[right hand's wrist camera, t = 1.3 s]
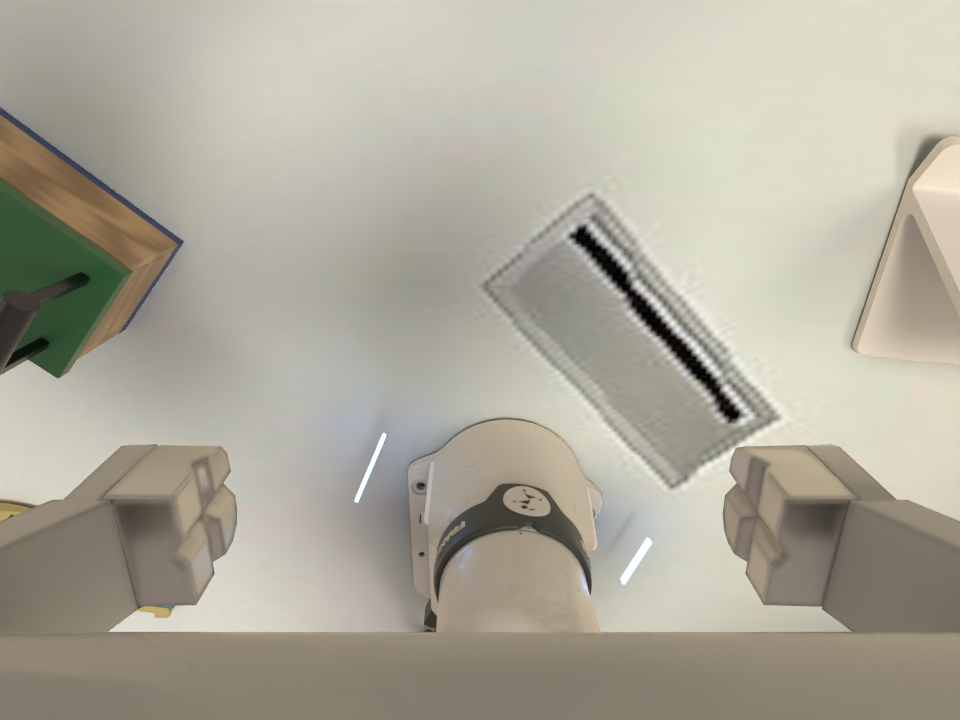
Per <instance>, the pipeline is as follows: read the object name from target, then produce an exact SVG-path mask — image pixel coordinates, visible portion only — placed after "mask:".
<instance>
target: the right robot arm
mask: <svg viewBox="0 0 960 720" xmlns="http://www.w3.org/2000/svg"><path fill="white" fill-rule="evenodd" d="M385 437H386V434H384V433H383V434H382V436H381V439H380V441H379V444H378V446H377V448H376V451H375V453H374V455H373V458H372V460H371V462H370V465H369V467H368V469H367V472H366V474H365V477H364V479H363V481H362V484H361V486H360V488H359V491H358V493H357V495H356V498H355V502H357V503H358V501H359V499H360V496H361V494H362V492H363V489H364V487H365V485H366V482H367V480H368V477H369V475H370V473H371V470H372V468H373V466H374V463H375V461H376V459H377V456H378V454H379V452H380V449H381V447H382V445H383V442H384V440H385ZM230 472H231V470H230V465H229V460H228V455H227V452H226V451H225V450H224V449H223V448H222V447H221V446H172V445H160V446H158V445H128V446H121V447H120V448H119V449H118V450H117V451H116V452H115V453H113V454H112V455H111V456H110V457H109V458H108V459H107V460H106V461H105V462H104V463H103V464H102V465H100V466H99V467H98V468H97V469H96V470H95V471H94V472H93V473H92V474H91V475H90V476H89V477H87V478H86V479H85V480H84V481H83V482H82V483H81V484H80V485H79V486H78V487H77V488H75V489H74V490H73V491H72V492H71V493H70V494H69V495H68V496H67V497H66V498H65V499H64V500H51V501H49V502H46V503H44V504H41V505H39V506H37V507H34V508H32V509H29V510H27V511H24V512H22V513H19V514H17V515H14V516H12V517H10V518H7V519H5V520H2V521H0V720H960V521H958V520H955V519H953V518H950V517H948V516H945V515H943V514H941V513H938V512H936V511H933V510H931V509H928V508H926V507H923V506H921V505H919V504H916V503H914V502H911V501H909V500H897V499H895V498H894V497H893V496H892V495H891V494H890V493H889V492H888V491H887V490H886V489H885V488H884V487H882V486H881V485H880V484H879V483H878V482H877V481H876V480H875V479H874V478H873V477H872V476H871V475H869V474H868V473H867V472H866V471H865V470H864V469H863V468H862V467H861V466H860V465H859V464H858V463H856V462H855V461H854V460H853V459H852V458H851V457H850V456H849V455H848V454H847V453H846V452H845V451H843V450H842V449H841V448H840V447H838V446H835V445H831V444H830V445H807V446H805V445H793V446H751V447H739V448H736V449H735V451H734V453H733V456H732V459H731V464H730V470H729V472H730V473H731V475H732V476H733V478H734V479H735V481H736V483H737V484H736V485H735V486H734V487H733V488H732V489H731V490H730V491H729V492H728V493H727V494H726V495H725V500H724V508H723V522H724V531H725V534H726V537H727V541H728V543H729V545H730V547H731V549H732V551H733V553H734V554H735V555H737V556H739V557H740V558H742V559H743V560H745V561H747V562H748V563H747V568H746V575H747V577H748V579H749V580H750V582H751V584H752V585H753V587H754V589H755V591H756V592H757V594H758V596H759V597H760V599H761V601H762V603H763V604H764V605H785V606H822V607H823V608H822V609H823V610H824V611H826V612H827V613H828V614H830V615H831V616H832V617H834V618H835V619H836V620H838V621H839V622H840V623H842V624H843V625H844V626H846V627H847V628H848V629H850V630H851V631H852V632H600V629H599V626H598V622H597V619H596V616H595V612H594V609H593V605H592V602H591V598H590V594H591V566H590V556H591V553H592V551H594V550H596V548H597V536H596V529H595V523H594V521H595V519H596V517H597V516H598V514H599V512H600V510H601V509H602V506H603V498H602V494H601V492H600V491H599V490H598V489H597V487H596V486H595V485H593V484H592V483H591V482H590V481H589V480H588V479H586V478H585V476H584V475H583V473H582V471H581V469H580V467H579V464H578V462H577V459H576V457H575V455H574V454H573V452H572V451H571V449H570V448H569V447H568V445H567V444H566V443H565V442H564V441H563V440H562V439H561V438H559V437H558V436H557V435H556V434H554V433H553V432H551V431H550V430H548V429H546V428H544V427H542V426H539V425H537V424H534V423H530V422H527V421H522V420H512V419H502V420H493V421H487V422H483V423H480V424H477V425H475V426H472V427H470V428H468V429H466V430H464V431H462V432H461V433H459V434H458V435H456V436H455V437H454V438H453V439H451V440H450V441H449V442H448V443H447V444H446V445H445V446H444V447H443V448H441V449H440V450H439V451H437V452H436V453H433V454H430V455H427V456H425V457H422V458H420V459H417V460H416V461H414V462H412V463H411V464H410V466H409V468H408V490H409V508H410V525H411V543H412V560H413V577H414V587H415V590H416V591H417V592H418V593H419V594H421V595H422V596H423V597H425V598H427V599H428V600H429V601H428V603H427V605H426V610H425V619H424V625H426V626H429V627H432V628H435V631H434V632H432V631H430V630H428V631H426V632H108V631H109V630H111V629H112V628H113V627H115V626H116V625H117V624H119V623H120V622H121V621H123V620H124V619H125V618H127V617H128V616H129V615H131V614H132V613H133V612H135V611H136V610H137V606H173V605H196V604H197V603H198V601H199V599H200V598H201V596H202V594H203V592H204V591H205V589H206V587H207V585H208V584H209V582H210V580H211V579H212V577H213V575H214V568H213V563H212V562H213V561H215V560H217V559H218V558H220V557H221V556H223V555H225V554H226V552H227V551H228V549H229V547H230V545H231V543H232V541H233V537H234V533H235V529H236V525H237V506H236V499H235V495H234V494H233V493H232V492H231V491H230V490H229V489H228V488H227V487H226V486H225V485H224V484H223V483H224V481H225V479H226V478H227V476H228V475H229V473H230ZM419 482H422V483H424V484H425V485H423V486H420V485H418V484H417V483H419ZM651 544H652V543H651V540H650V539H649V538H646V540H645V541H644V543H643V545H642V546H641V548H640V549H639V551H638V552H637V554H636V555H635V557H634V558H633V560H632V562H631V563H630V565H629V566H628V568H627V569H626V571H625V572H624V574H623V575H622V577H621V582H622V584H625V583H626V582H627V580H628V579H629V577H630V576H631V574H632V573H633V571H634V570H635V568H636V566H637V565H638V563H639V562H640V560H641V559H642V557H643V556H644V554H645V553H646V551H647V550H648V548H649V547H650V545H651Z"/></svg>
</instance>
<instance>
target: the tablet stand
mask: <svg viewBox="0 0 960 720" xmlns="http://www.w3.org/2000/svg"><path fill="white" fill-rule="evenodd" d="M852 347H853V350H854V351H856V352H857V353H859V354H860V355H862V356H870V357H881V358H892V359H902V360H913V361H924V362H935V363H946V364H957V365H960V137H959V136H950V137H947V138H944V139H942V140H941V141H940V142H938V143H937V145H936V146H935V147H934V148H933V150H932V151H931V152H930V153H929V155H928V156H927V157H926V158H925V160H924V161H923V162H922V163H921V165H920V166H919V167H918V168H917V170H916V171H915V172H914V173H913V175H912V176H911V177H910V178H909V180H908V182H907V185H906V188H905V190H904V193H903V196H902V199H901V202H900V205H899V208H898V211H897V214H896V217H895V220H894V223H893V226H892V229H891V232H890V235H889V238H888V240H887V243H886V246H885V249H884V252H883V255H882V258H881V261H880V264H879V267H878V270H877V273H876V276H875V279H874V282H873V285H872V287H871V290H870V293H869V296H868V299H867V302H866V305H865V308H864V311H863V314H862V317H861V320H860V323H859V326H858V329H857V332H856V335H855V337H854V340H853V344H852Z"/></svg>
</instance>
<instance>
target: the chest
mask: <svg viewBox="0 0 960 720" xmlns="http://www.w3.org/2000/svg"><path fill="white" fill-rule="evenodd" d="M0 178H1V179H3V180H4V181H5V182H7V183H8V184H10V185H11V186H13V187H14V188H15V189H17V190H18V191H20V192H21V193H22V194H24V195H25V196H27V197H28V198H30V199H31V200H32V201H34V202H35V203H37V204H38V205H40V206H41V207H42V208H44V209H45V210H47V211H48V212H50V213H51V214H52V215H54V216H55V217H57V218H58V219H60V220H61V221H62V222H64V223H65V224H67V225H68V226H70V227H71V228H72V229H74V230H75V231H77V232H78V233H80V234H81V235H82V236H84V237H85V238H87V239H88V240H89V241H91V242H92V243H94V244H95V245H97V246H98V247H99V248H101V249H102V250H104V251H105V252H107V253H108V254H109V255H111V256H112V257H114V258H115V259H117V260H118V261H119V262H121V263H122V264H124V265H125V266H127V267H128V268H129V269H131V270H132V271H133V273H132V275H131V276H130V278H129V279H128V281H127V283H126V284H125V286H124V287H123V289H122V290H121V292H120V293H119V295H118V296H117V298H116V299H115V301H114V303H113V304H112V306H111V307H110V309H109V310H108V312H107V313H106V315H105V316H104V318H103V320H102V321H101V323H100V324H99V326H98V327H97V329H96V330H95V332H94V333H93V335H92V337H91V338H90V340H89V341H88V343H87V344H86V346H85V347H84V349H83V350H82V352H81V354H80V355H79V357H78V358H80V357H81V356H83V355H85V354H86V353H88V352H89V351H91V350H93V349H94V348H96V347H97V346H99V345H100V344H102V343H104V342H105V341H107V340H108V339H110V338H112V337H113V336H115V335H116V334H118V333H120V332H122V331H124V330H125V329H126V327H127V326H128V324H129V323H130V321H131V320H132V318H133V317H134V315H135V314H136V312H137V311H138V309H139V308H140V306H141V305H142V303H143V302H144V300H145V299H146V297H147V296H148V294H149V293H150V291H151V290H152V288H153V287H154V285H155V284H156V282H157V281H158V279H159V278H160V276H161V275H162V273H163V272H164V270H165V269H166V267H167V266H168V264H169V263H170V261H171V260H172V258H173V257H174V255H175V254H176V252H177V251H178V249H179V248H180V246H181V245H182V243H183V241H182V240H180V239H179V238H178V237H176V236H175V235H174V234H172V233H171V232H170V231H168V230H167V229H165V228H164V227H163V226H161V225H160V224H159V223H157V222H156V221H154V220H153V219H152V218H150V217H149V216H148V215H146V214H145V213H143V212H142V211H141V210H139V209H138V208H137V207H135V206H134V205H133V204H131V203H130V202H128V201H127V200H126V199H124V198H123V197H122V196H120V195H119V194H117V193H116V192H115V191H113V190H112V189H111V188H109V187H108V186H106V185H105V184H104V183H102V182H101V181H100V180H98V179H97V178H96V177H94V176H93V175H91V174H90V173H89V172H87V171H86V170H85V169H83V168H82V167H80V166H79V165H78V164H76V163H75V162H74V161H72V160H71V159H70V158H68V157H67V156H65V155H64V154H63V153H61V152H60V151H59V150H57V149H56V148H54V147H53V146H52V145H50V144H49V143H48V142H46V141H45V140H43V139H42V138H41V137H39V136H38V135H37V134H35V133H34V132H33V131H31V130H30V129H28V128H27V127H26V126H24V125H23V124H22V123H20V122H19V121H17V120H16V119H15V118H13V117H12V116H11V115H9V114H8V113H7V112H5V111H4V110H2V109H1V108H0ZM78 358H77V359H78Z"/></svg>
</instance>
